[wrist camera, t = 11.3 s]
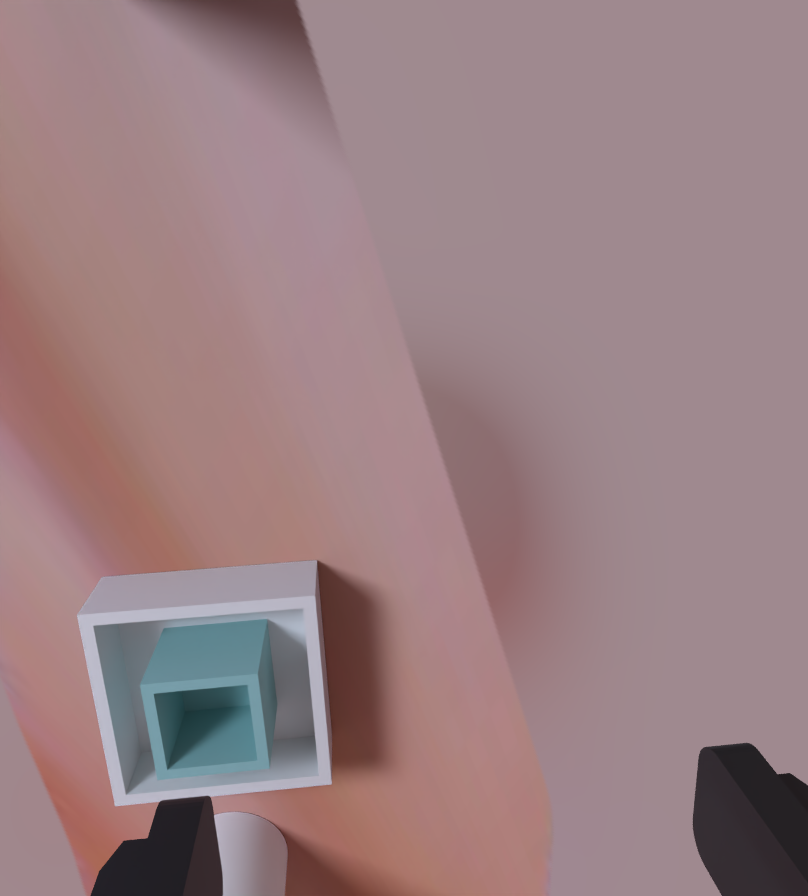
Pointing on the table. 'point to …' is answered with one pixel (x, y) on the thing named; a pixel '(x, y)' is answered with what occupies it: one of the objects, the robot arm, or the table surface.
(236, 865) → the cylindrical container
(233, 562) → the table surface
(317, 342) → the table surface
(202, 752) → the teal crate
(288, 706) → the white crate
